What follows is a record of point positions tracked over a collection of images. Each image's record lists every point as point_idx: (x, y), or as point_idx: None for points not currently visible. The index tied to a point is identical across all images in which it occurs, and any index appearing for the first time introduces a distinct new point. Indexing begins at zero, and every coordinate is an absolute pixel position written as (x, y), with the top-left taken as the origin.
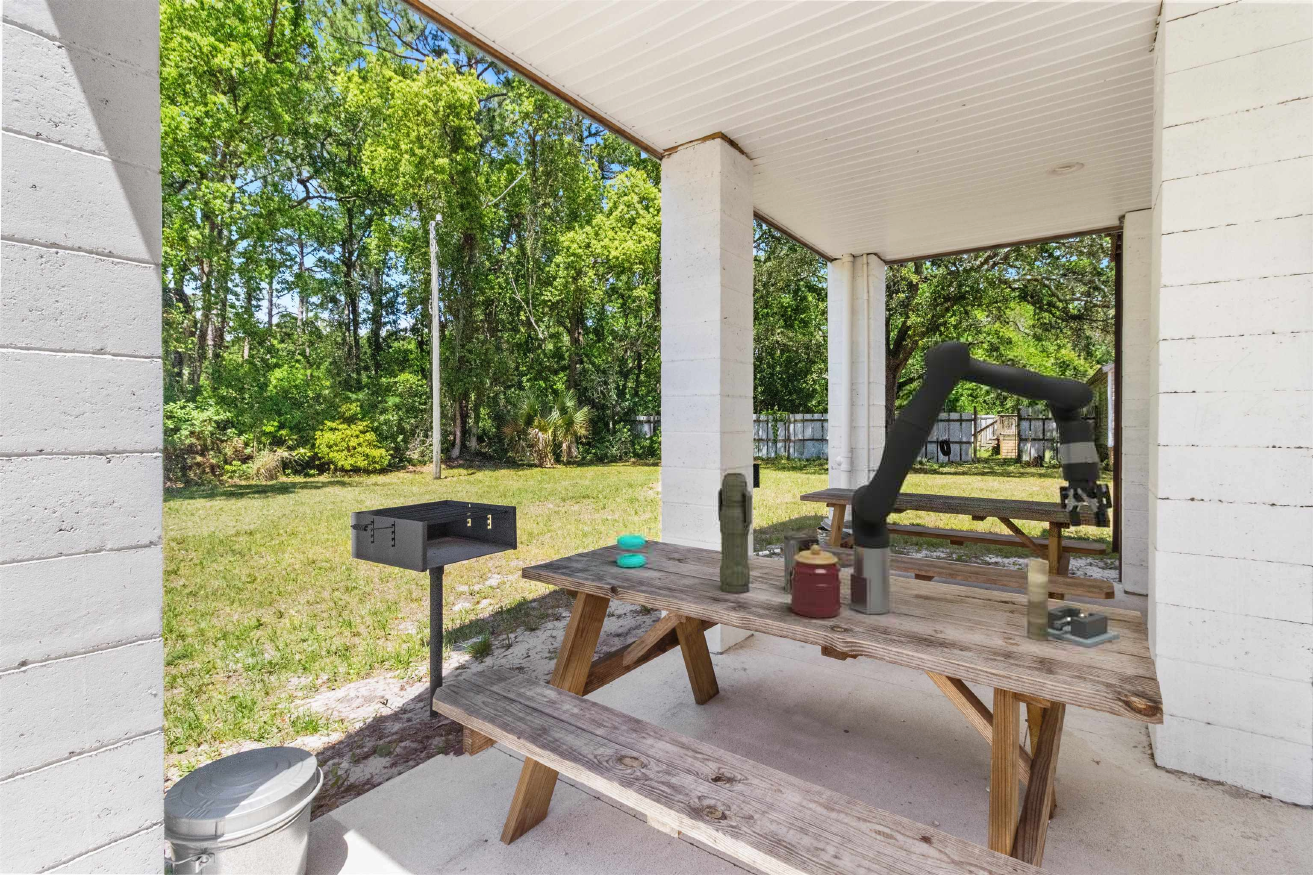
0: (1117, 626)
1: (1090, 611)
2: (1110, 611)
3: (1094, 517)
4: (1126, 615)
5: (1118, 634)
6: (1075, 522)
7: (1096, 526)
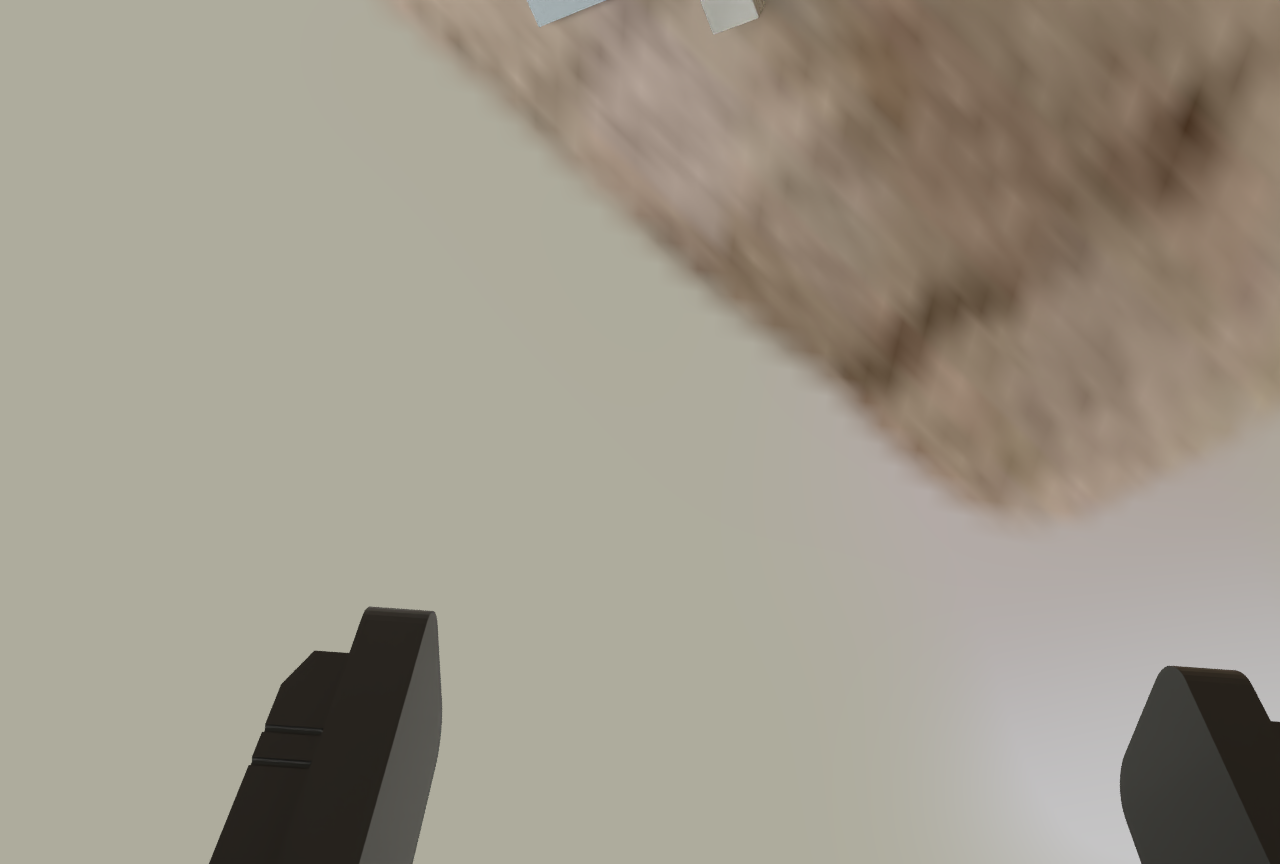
0: (776, 220)
1: (752, 5)
2: (1085, 458)
3: (378, 767)
4: (974, 481)
5: (535, 11)
6: (1179, 777)
7: (414, 610)
